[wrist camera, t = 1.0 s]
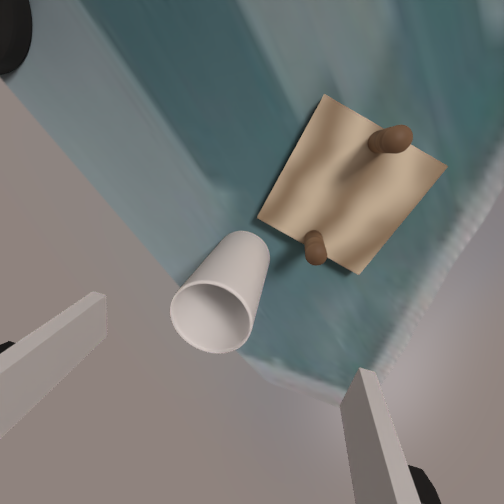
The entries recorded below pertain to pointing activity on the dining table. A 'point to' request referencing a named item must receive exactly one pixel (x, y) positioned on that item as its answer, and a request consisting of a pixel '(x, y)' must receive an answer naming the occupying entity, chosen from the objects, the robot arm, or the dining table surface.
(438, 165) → the peg board
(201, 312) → the cup
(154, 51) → the dining table surface
